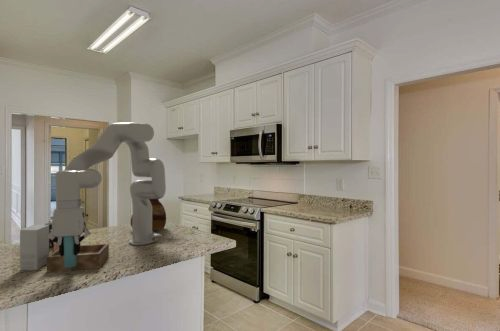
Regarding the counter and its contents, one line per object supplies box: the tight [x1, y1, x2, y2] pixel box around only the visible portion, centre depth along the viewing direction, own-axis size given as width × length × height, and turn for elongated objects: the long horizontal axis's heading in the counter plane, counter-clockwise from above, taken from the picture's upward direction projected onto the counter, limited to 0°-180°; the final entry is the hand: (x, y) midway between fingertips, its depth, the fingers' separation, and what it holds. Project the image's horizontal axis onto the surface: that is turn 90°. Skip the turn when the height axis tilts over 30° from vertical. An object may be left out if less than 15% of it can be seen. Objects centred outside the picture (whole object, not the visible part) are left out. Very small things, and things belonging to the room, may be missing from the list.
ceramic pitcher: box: [130, 199, 167, 232], centre depth 175 cm, size 20×20×30 cm
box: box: [46, 243, 110, 273], centre depth 118 cm, size 18×14×6 cm
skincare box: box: [19, 224, 50, 271], centre depth 114 cm, size 8×7×16 cm
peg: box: [63, 236, 76, 268], centre depth 107 cm, size 4×4×12 cm
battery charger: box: [43, 222, 55, 249], centre depth 141 cm, size 7×4×11 cm, turn 140°
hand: (70, 254), depth 107 cm, fingers closed on peg, 3 cm apart
